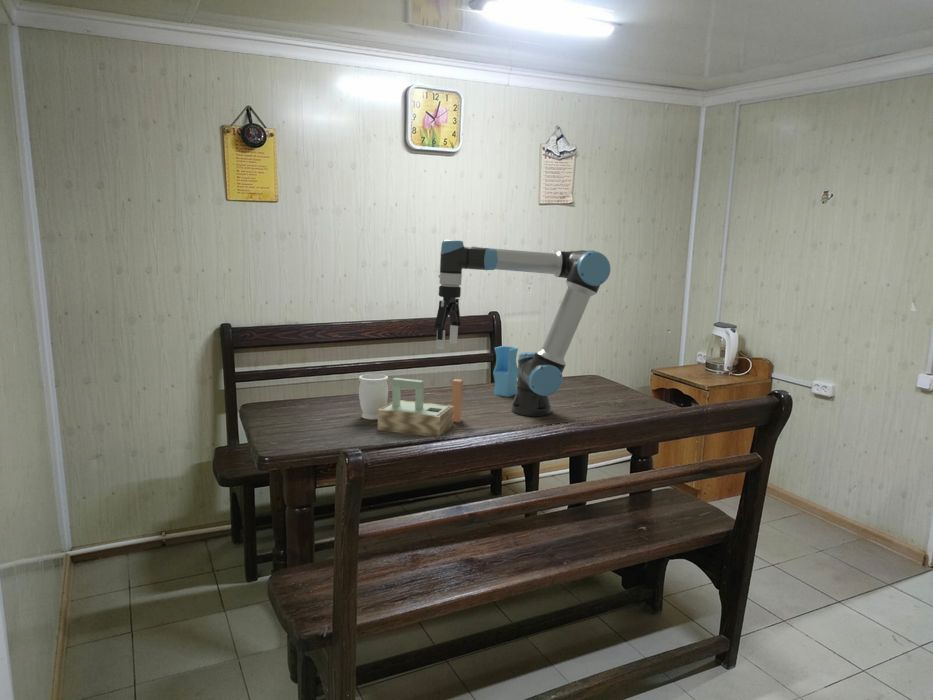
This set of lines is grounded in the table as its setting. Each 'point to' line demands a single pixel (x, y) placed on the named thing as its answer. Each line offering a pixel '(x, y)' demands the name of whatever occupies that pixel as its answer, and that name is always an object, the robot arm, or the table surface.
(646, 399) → the table surface
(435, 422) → the wooden box
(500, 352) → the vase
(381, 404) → the jar
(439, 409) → the lid
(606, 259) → the robot arm
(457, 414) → the key peg
